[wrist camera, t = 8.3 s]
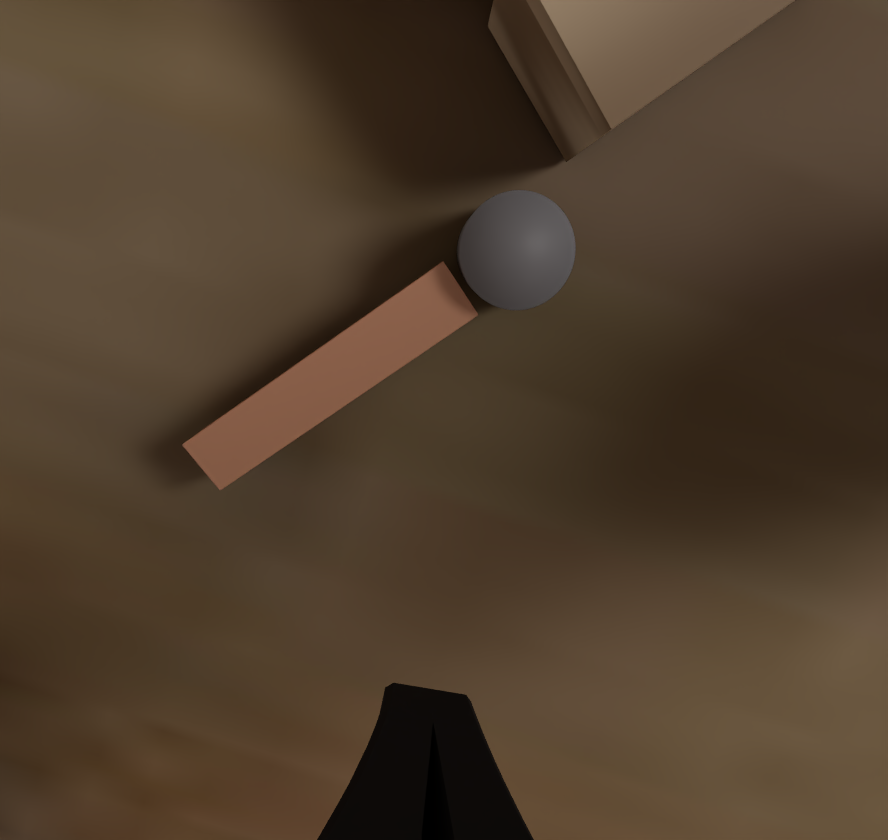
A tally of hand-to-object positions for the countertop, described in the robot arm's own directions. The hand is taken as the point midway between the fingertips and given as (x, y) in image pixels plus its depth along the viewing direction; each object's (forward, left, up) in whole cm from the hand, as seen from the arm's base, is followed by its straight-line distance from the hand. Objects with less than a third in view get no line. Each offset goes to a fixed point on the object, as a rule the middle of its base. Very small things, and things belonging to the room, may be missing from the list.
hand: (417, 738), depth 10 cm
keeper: (+5, -2, -8) cm, 10 cm away
